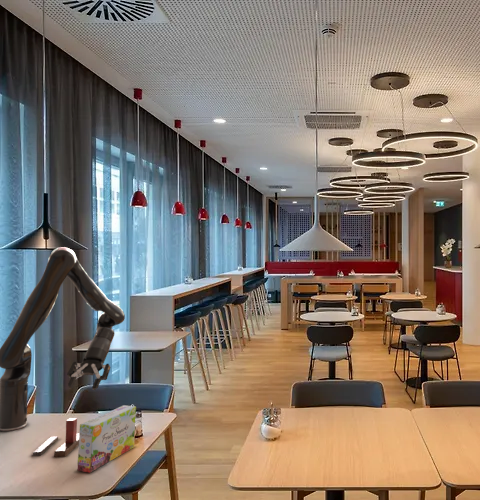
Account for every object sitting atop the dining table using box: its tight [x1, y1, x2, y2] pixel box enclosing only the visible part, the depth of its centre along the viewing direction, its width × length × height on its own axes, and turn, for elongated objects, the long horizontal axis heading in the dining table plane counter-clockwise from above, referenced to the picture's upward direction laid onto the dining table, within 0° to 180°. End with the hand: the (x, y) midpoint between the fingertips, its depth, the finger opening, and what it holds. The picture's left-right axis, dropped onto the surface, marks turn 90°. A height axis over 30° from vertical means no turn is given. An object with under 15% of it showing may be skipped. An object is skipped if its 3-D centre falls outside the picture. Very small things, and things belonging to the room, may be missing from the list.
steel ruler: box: [32, 436, 59, 457], centre depth 166 cm, size 2×14×1 cm, turn 11°
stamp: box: [53, 417, 79, 458], centre depth 167 cm, size 4×16×10 cm, turn 7°
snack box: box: [77, 404, 137, 473], centre depth 158 cm, size 21×6×15 cm, turn 168°
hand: (82, 388), depth 177 cm, fingers open, 8 cm apart
